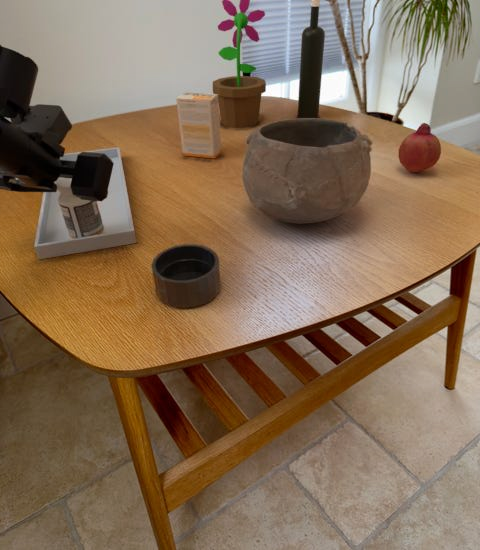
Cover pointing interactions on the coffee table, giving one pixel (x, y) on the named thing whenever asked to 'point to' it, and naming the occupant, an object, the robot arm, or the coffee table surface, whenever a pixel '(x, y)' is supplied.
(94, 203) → the pill bottle
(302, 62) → the wine bottle
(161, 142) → the coffee table surface
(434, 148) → the fruit
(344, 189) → the clay pot
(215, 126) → the supplement box
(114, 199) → the serving dish
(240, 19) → the flowerpot
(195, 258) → the charcoal bowl
